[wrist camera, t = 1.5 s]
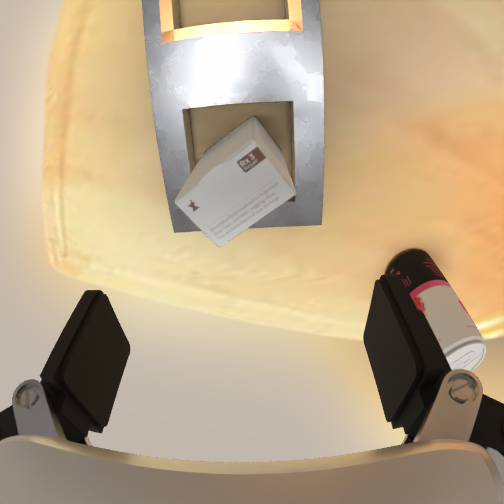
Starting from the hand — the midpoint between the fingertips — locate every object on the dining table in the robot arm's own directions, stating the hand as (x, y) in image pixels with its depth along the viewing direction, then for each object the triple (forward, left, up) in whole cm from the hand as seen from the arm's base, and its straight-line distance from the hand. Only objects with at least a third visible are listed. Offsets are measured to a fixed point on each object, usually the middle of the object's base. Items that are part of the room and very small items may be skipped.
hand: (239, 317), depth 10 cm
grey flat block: (-8, -1, -21) cm, 22 cm away
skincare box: (0, -1, -21) cm, 21 cm away
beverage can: (+15, +18, -21) cm, 31 cm away
